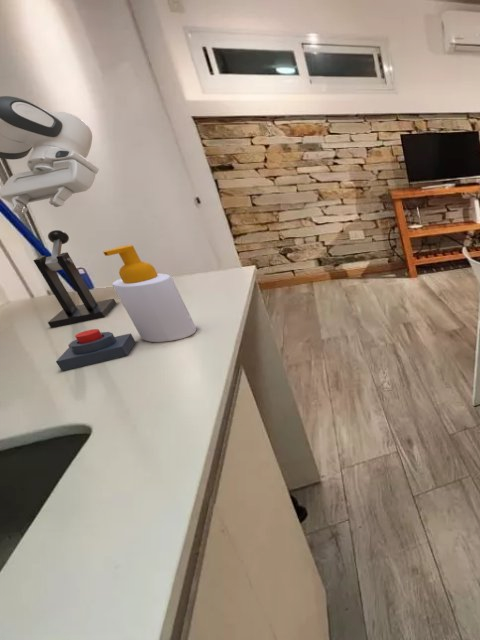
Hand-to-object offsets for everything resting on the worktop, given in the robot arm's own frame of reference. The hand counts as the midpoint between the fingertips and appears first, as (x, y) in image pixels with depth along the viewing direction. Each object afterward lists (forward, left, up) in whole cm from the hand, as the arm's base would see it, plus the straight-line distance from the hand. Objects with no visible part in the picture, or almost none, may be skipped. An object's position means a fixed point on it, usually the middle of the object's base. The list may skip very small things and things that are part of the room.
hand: (37, 208), depth 116 cm
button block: (+10, -43, -26) cm, 51 cm away
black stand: (-1, -6, -26) cm, 27 cm away
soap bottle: (+21, -39, -27) cm, 52 cm away
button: (+10, -43, -23) cm, 50 cm away
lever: (-1, 0, -12) cm, 12 cm away
